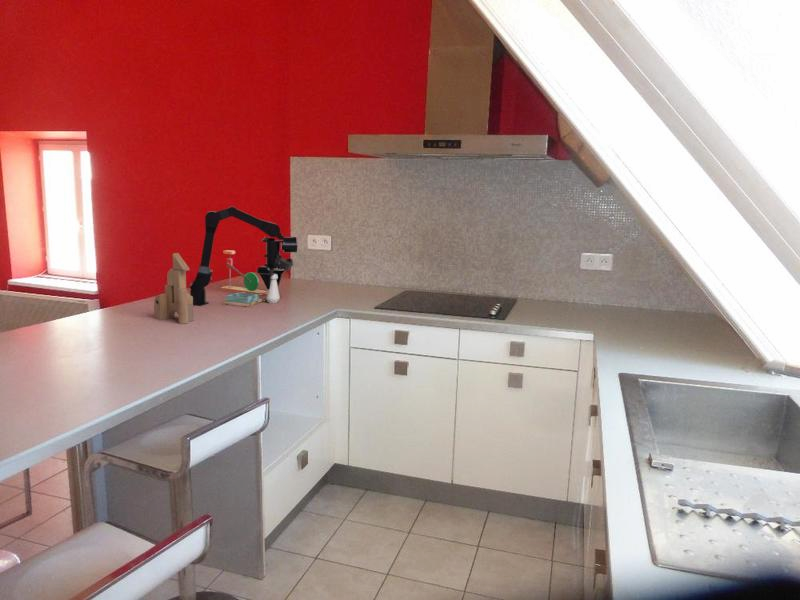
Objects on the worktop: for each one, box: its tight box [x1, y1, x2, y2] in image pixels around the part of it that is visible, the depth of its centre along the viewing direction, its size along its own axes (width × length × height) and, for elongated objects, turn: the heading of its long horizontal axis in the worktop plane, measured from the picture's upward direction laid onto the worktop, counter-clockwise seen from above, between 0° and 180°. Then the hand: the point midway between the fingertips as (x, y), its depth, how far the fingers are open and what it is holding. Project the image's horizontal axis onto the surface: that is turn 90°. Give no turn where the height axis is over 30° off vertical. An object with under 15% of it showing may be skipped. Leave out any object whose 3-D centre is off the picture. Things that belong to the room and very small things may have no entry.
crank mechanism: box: [220, 249, 268, 294], centre depth 279 cm, size 25×7×19 cm, turn 63°
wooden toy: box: [153, 252, 194, 325], centre depth 215 cm, size 15×7×25 cm, turn 63°
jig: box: [222, 292, 267, 307], centre depth 255 cm, size 18×12×4 cm, turn 166°
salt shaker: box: [265, 273, 281, 304], centre depth 256 cm, size 6×6×13 cm
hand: (273, 287), depth 256 cm, fingers open, 8 cm apart
